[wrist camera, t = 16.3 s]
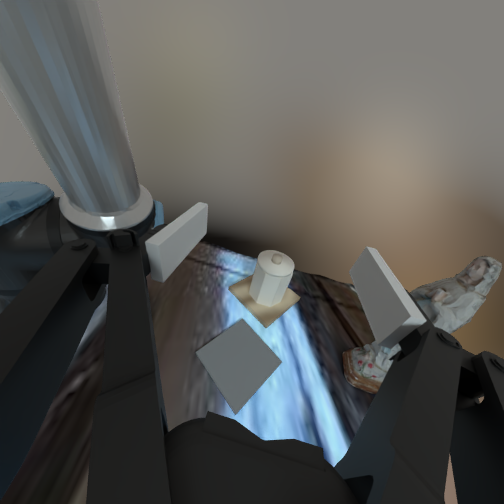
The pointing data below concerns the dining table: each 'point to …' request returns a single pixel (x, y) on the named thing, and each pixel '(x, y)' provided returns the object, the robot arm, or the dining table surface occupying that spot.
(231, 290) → the board
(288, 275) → the white lidded jar
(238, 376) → the mat
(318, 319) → the dining table surface
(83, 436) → the dining table surface
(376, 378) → the statue
